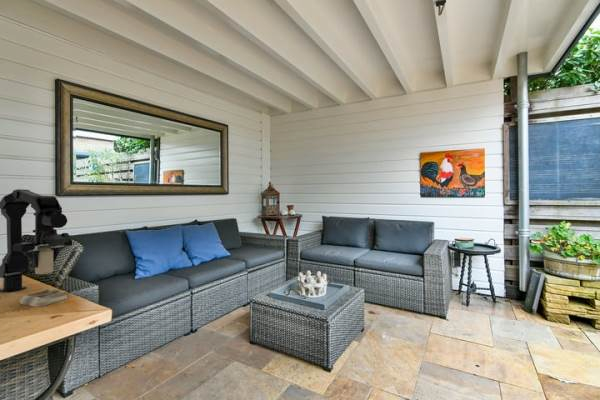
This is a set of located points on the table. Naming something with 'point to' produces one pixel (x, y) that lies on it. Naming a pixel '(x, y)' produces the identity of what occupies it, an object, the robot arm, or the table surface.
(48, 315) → the table surface
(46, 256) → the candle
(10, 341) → the table surface
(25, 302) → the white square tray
